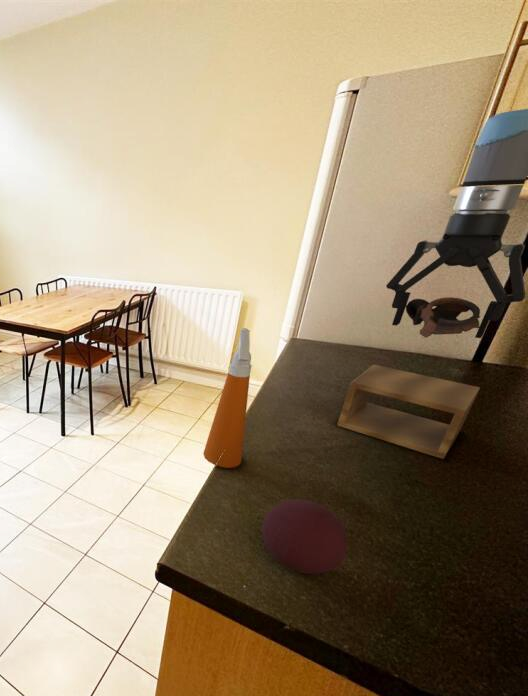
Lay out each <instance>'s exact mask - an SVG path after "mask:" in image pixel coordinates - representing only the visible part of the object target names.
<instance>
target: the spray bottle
mask: <svg viewBox="0 0 528 696" xmlns="http://www.w3.org/2000/svg"><path fill="white" fill-rule="evenodd" d="M250 331H251V330H249V329H248V328H246V327H244V328H241V329H240V331H239V337H238V348H237V350H236V351H235V352H234V355H233V356H232V361H230V362H229V367H228V373H227V375H226V379H225V382H224V385H223V388H222V392H221V394H220V398H219V402H218V404H217V408H216V410H215V415H214V417H213V420H212V424H211V427H210V430H209V434H208V437H207V440H206V444H205V447H204V449H203V452H202V454H203V457H204V459H205V460H206V461H207V462H208V463H210V464H212V465H214V466H217V467H221V468H226V469H230V468H231V469H232V468H236V467H238V466H240V465H241V462H242V459H243V448H244V437H245V430H246V429H245V428H246V417H247V407H248V399H249V398H248V397H249V388H250V387H249V386H250V377H251V371H252V364H251V361H252V354H251V352H250V347H251V345H250ZM224 450H225V451H224ZM222 453H223V455H222ZM221 455H222V456H221ZM220 456H221V458H220ZM219 458H220V460H219ZM218 460H219V462H218ZM217 462H218V464H217V465H216V463H217Z"/></svg>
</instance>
